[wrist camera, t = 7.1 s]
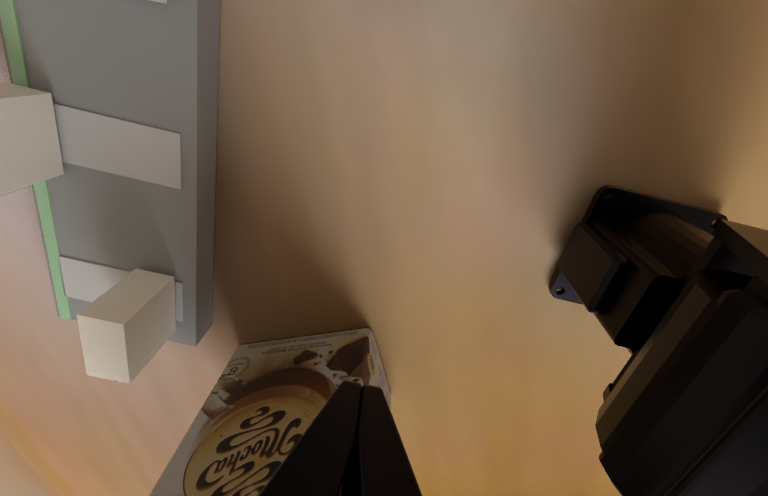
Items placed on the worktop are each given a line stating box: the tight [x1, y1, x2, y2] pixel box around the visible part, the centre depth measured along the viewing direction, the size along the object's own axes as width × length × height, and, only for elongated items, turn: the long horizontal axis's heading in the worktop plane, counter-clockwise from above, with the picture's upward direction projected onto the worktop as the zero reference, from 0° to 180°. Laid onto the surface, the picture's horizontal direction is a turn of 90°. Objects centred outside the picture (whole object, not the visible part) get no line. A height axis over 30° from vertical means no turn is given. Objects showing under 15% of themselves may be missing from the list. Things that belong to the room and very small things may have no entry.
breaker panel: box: [0, 0, 221, 346], centre depth 18 cm, size 8×22×2 cm, turn 167°
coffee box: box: [149, 328, 391, 496], centre depth 18 cm, size 9×6×16 cm
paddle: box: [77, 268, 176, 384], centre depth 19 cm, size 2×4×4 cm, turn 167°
